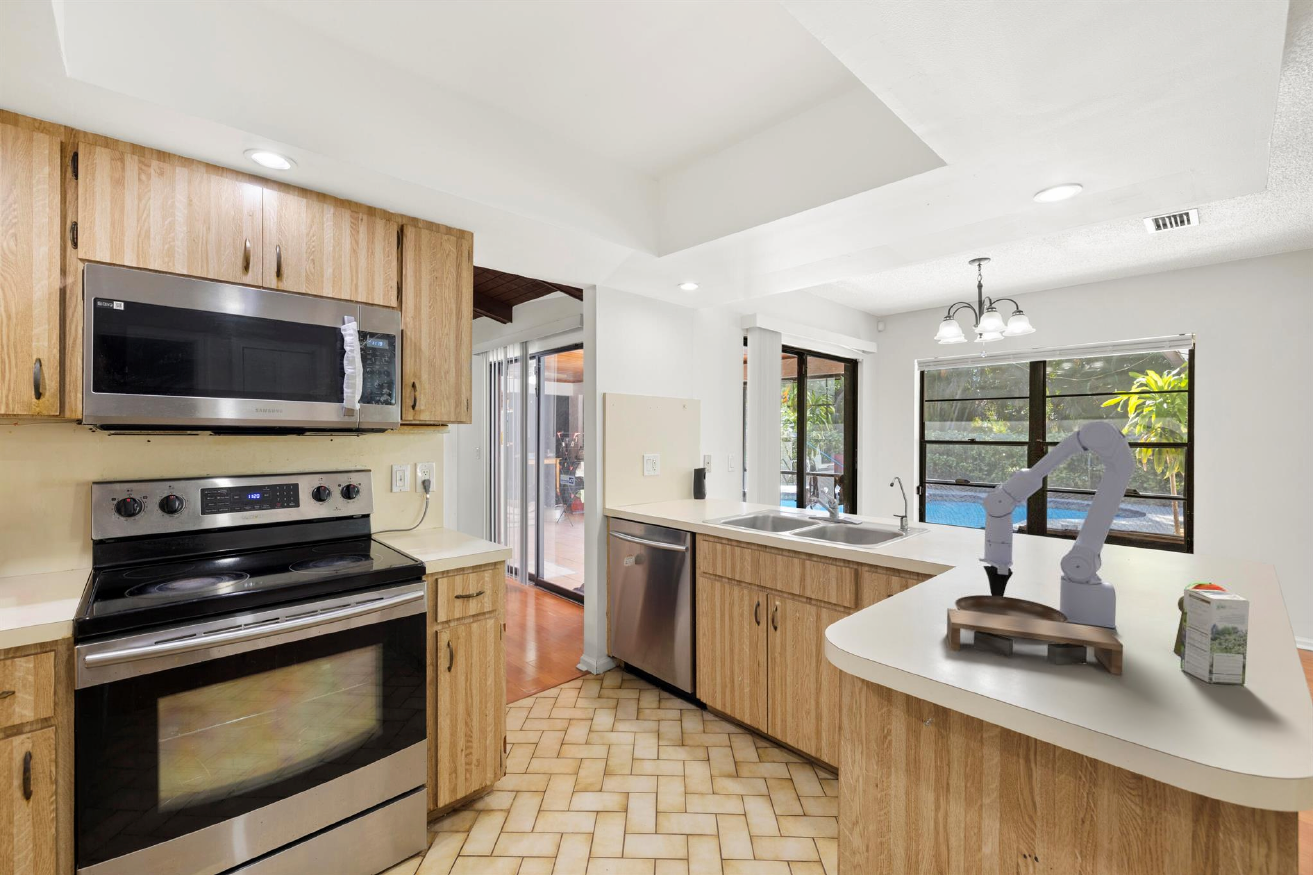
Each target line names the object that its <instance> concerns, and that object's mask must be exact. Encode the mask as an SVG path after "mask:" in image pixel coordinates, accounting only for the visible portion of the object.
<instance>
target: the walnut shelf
mask: <svg viewBox="0 0 1313 875" xmlns="http://www.w3.org/2000/svg"><path fill="white" fill-rule="evenodd" d="M946 611H947V616H946V618H947V619H946V636H947V639H948V643H949V647H950V650H951V651H961V630H966V631H974V632H973V633H974V634H973V648H974V649H979V650H982V651H985V652H988V653H991V654H995V655H999V656H1001V657H1005V658H1007V659H1008V658H1011V657H1013V655H1014V639H1013V638H1010V637H1008V636H1012V637H1019V638H1027V639H1034V640H1040V641H1041V640H1042V641H1048V642H1054V643H1047V648H1046V650H1047V651H1046V653H1047V655H1046V659H1047V660H1046V661H1047V662H1049V663H1052V664H1053V663H1054V664H1053V665H1055V666H1065V665H1084V664H1083V663H1087V662H1088V660H1087V657H1088V656H1087V655H1088V647H1093V655H1094V654H1095V655H1094V656H1095V657H1096V658H1097V659H1098V661H1099V662H1100V661H1101V662H1102V663H1103V664H1102V663H1101V662H1100V663H1101V664H1102V665H1103V666H1104V668H1106V669H1107V670H1108V672H1109V671H1110V672H1111V673H1110V672H1109V673H1110V674H1113V675H1118V674H1119V675H1120V676H1122V675H1123V661H1124V660H1123V655H1124V645H1123V643H1122V642H1120V640H1118V638H1116V637H1115V635H1113V634H1112V633H1111V632H1110V631H1109V630H1107V629H1106V627H1102V626H1094V625H1086V624H1078V623H1070V622H1066V623H1061V622H1053V621H1045V620H1037V619H1029V618H1021V617H1013V616H1005V615H997V614H989V613H981V612H973V611H965V610H958V609H957V608H955V609H954V608H947V610H946ZM1004 635H1005V636H1004ZM1055 642H1056V643H1055ZM1119 675H1118V676H1119Z"/></svg>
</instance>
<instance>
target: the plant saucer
mask: <svg viewBox="0 0 1313 875" xmlns="http://www.w3.org/2000/svg"><path fill="white" fill-rule="evenodd" d="M954 605H955V607H956V609H957V610H965V611H973V612H981V613H989V614H997V615H1005V616H1013V617H1021V618H1029V619H1037V620H1045V621H1053V622H1061V623H1068V622H1067V621H1068V618H1067V616H1066V615H1065V614H1064V613H1062V612H1060V611H1059V610H1060V609H1057V608H1054V607H1052V606H1049V605H1045V604H1043V603H1039V602H1036V601H1031V600H1027V599H1022V598H1017V597H1012V596H1011V597H1010V596H992V595H989V594H988V595H987V594H986V595H983V594H982V595H981V594H978V595H976V594H975V595H967V596H963V597H960V598H957V599H956V600H955V602H954Z"/></svg>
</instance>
